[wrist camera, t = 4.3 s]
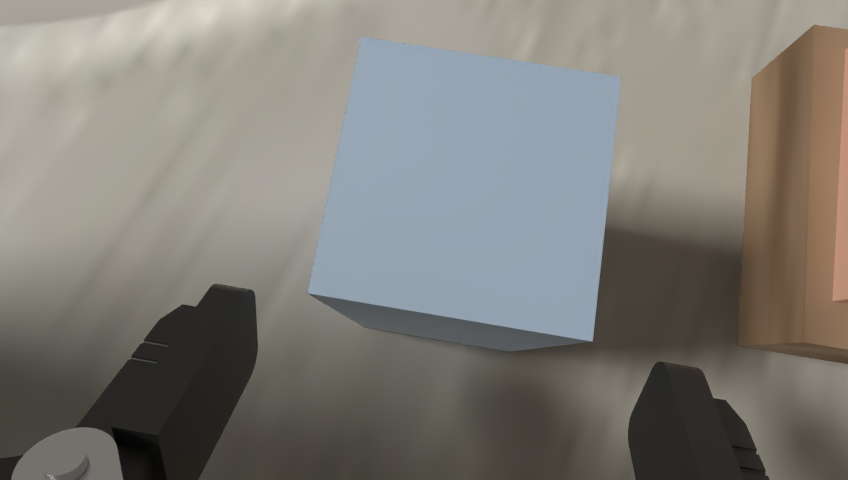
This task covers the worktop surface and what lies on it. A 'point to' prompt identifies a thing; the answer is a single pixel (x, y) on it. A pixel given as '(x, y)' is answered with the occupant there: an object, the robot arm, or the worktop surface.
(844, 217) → the terracotta top block
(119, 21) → the worktop surface
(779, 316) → the walnut base block
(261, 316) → the worktop surface
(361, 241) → the slate blue block
